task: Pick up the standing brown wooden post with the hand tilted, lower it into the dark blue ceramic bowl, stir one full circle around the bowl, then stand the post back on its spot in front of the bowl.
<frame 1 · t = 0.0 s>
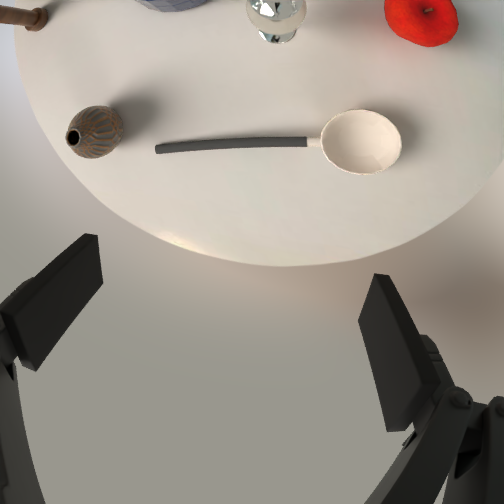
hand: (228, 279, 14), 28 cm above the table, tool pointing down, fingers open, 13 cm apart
brown wooden post: (39, 20, 30), on the table
vase: (108, 128, 38), on the table
wineglass: (276, 28, 32), on the table
apple: (404, 21, 29), on the table
ladle: (273, 138, 38), on the table
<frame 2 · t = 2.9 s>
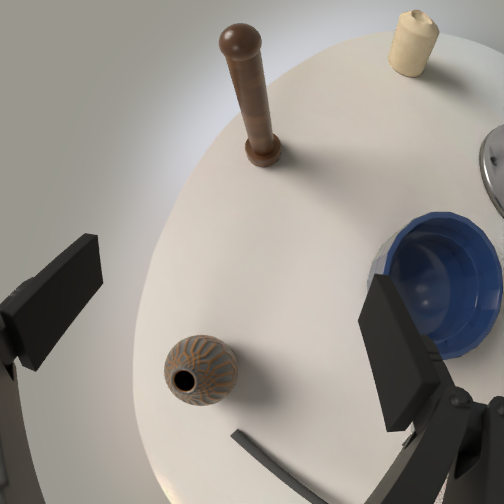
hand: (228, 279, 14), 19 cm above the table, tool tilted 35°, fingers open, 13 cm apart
brown wooden post: (263, 151, 36), on the table
vase: (211, 364, 33), on the table
blue bowl: (423, 289, 31), on the table
candle: (405, 64, 36), on the table
ladle: (330, 501, 28), on the table
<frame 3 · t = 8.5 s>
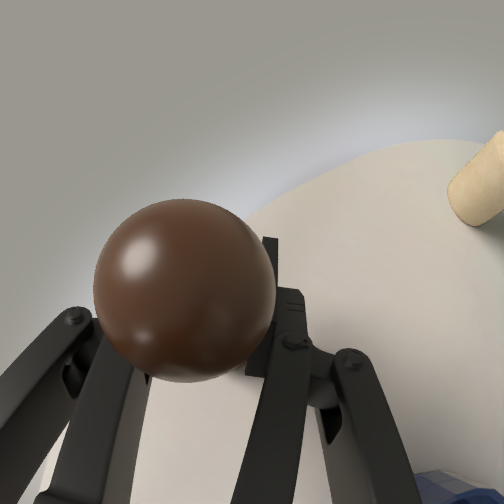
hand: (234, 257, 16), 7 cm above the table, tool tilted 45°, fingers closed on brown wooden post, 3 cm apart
brown wooden post: (229, 340, 22), on the table, touching gripper
candle: (466, 202, 26), on the table
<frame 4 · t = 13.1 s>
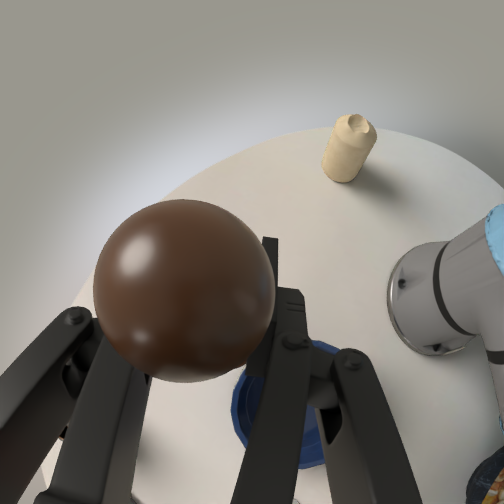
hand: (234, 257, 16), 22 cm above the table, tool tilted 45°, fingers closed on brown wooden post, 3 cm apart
brown wooden post: (229, 340, 22), point 15 cm above the table, touching gripper
bowl: (484, 479, 29), on the table
blue bowl: (292, 398, 34), on the table
candle: (339, 167, 44), on the table
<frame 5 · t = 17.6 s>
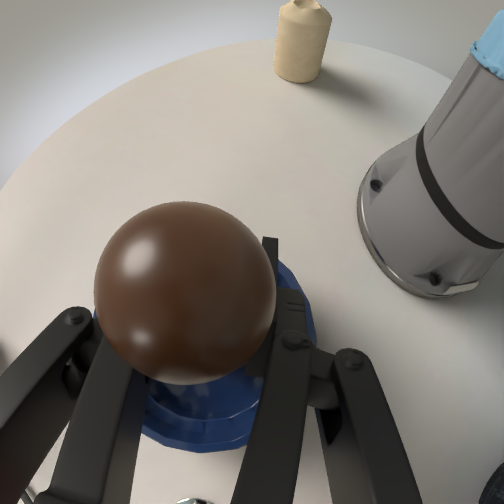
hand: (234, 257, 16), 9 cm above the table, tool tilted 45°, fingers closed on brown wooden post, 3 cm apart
brown wooden post: (228, 340, 22), point 2 cm above the table, touching gripper
bowl: (502, 488, 19), on the table
blue bowl: (208, 344, 24), on the table
candle: (295, 70, 34), on the table
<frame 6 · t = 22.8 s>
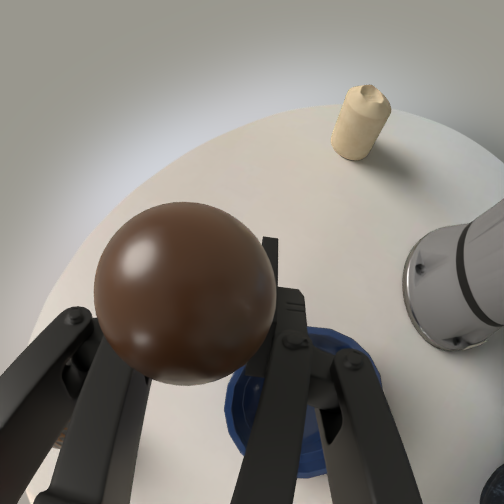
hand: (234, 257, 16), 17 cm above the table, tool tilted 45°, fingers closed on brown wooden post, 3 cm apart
brown wooden post: (228, 341, 22), point 10 cm above the table, touching gripper
bowl: (498, 486, 25), on the table
blue bowl: (295, 397, 30), on the table
candle: (349, 145, 40), on the table
when the fingers open (7 cm above the table, at t = 27.0 s): brown wooden post stays where it is, on the table.
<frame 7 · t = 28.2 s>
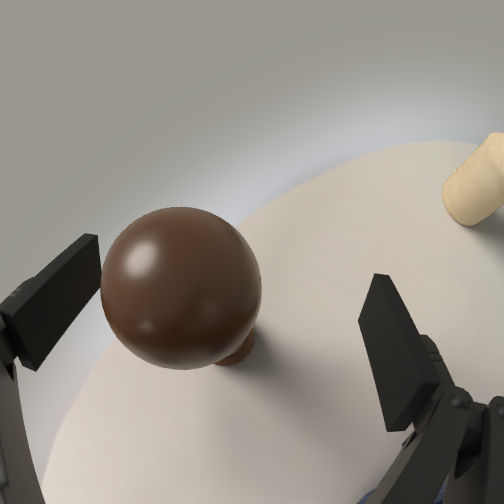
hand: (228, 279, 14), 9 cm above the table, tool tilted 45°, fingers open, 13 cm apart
brown wooden post: (225, 338, 23), on the table
candle: (460, 202, 27), on the table
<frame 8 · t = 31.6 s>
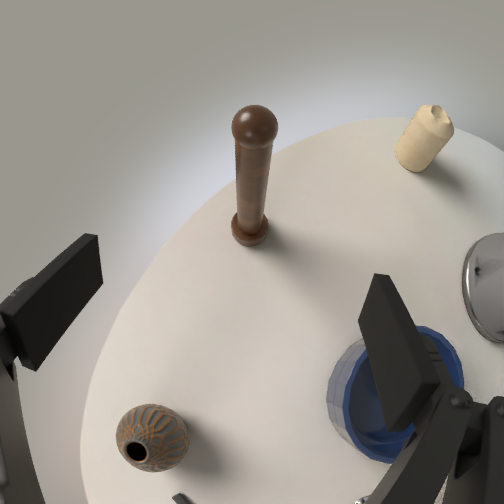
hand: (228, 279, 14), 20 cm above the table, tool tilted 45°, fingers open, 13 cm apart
brown wooden post: (249, 229, 36), on the table
vase: (162, 429, 29), on the table
blue bowl: (382, 391, 31), on the table
candle: (410, 157, 41), on the table
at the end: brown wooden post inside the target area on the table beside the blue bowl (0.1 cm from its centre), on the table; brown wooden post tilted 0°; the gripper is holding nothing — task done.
